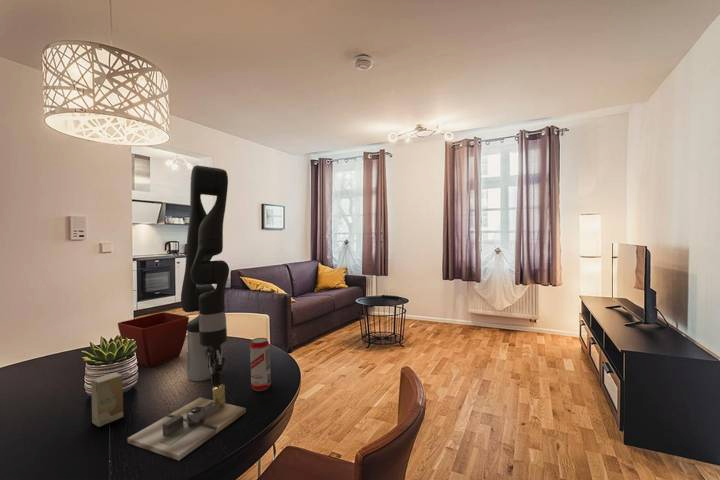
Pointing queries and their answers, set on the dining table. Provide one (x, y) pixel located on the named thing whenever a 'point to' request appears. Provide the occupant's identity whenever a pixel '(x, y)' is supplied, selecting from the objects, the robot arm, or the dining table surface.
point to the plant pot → (156, 336)
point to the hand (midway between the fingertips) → (215, 384)
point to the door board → (184, 430)
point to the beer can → (260, 364)
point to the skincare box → (107, 399)
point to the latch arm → (207, 406)
